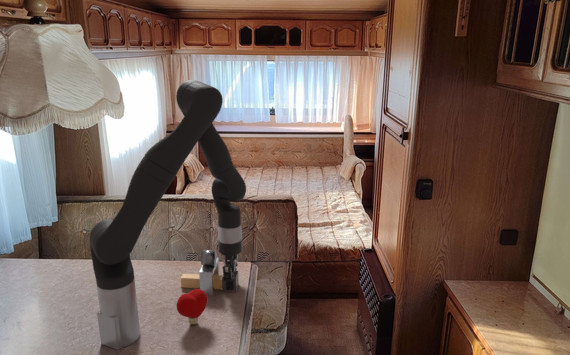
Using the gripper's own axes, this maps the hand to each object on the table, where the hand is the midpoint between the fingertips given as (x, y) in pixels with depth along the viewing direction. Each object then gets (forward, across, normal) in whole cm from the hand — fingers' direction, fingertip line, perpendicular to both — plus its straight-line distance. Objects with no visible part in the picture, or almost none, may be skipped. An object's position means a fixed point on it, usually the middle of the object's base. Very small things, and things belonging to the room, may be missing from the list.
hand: (231, 285), depth 140 cm
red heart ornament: (+1, -20, +7) cm, 21 cm away
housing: (+1, 0, +7) cm, 7 cm away
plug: (+1, 0, +7) cm, 7 cm away
